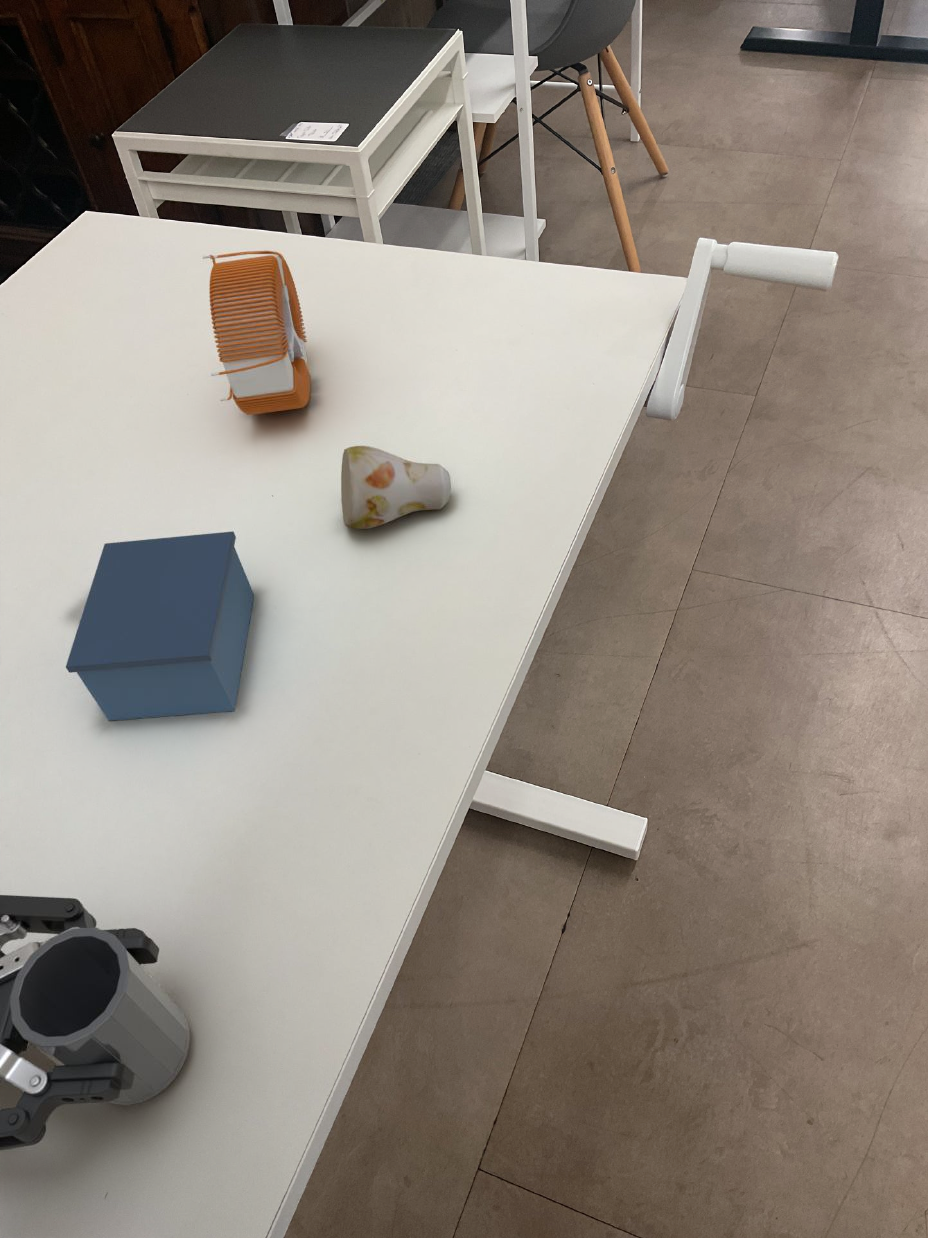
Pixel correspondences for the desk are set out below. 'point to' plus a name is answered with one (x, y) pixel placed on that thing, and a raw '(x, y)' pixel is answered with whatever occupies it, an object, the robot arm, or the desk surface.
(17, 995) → the cup
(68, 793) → the desk surface
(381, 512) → the patterned salt shaker
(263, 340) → the coil
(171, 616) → the container
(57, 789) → the desk surface
